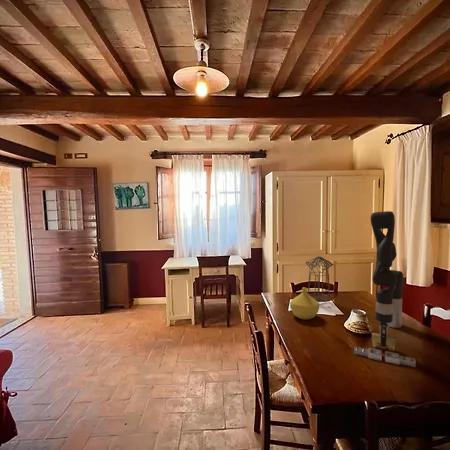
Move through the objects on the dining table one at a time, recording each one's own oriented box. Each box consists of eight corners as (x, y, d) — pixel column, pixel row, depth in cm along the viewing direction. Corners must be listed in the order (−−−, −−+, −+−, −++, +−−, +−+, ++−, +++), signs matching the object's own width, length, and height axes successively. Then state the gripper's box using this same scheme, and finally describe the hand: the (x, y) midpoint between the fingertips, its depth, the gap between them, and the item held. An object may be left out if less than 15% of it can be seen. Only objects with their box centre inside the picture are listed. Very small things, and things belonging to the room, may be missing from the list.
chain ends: (354, 349, 142) (354, 344, 141) (414, 362, 129) (414, 356, 129) (353, 354, 137) (353, 349, 137) (415, 368, 125) (416, 362, 124)
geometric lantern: (303, 300, 218) (304, 255, 216) (321, 298, 223) (321, 254, 221) (316, 307, 203) (316, 258, 201) (334, 304, 208) (335, 257, 206)
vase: (315, 312, 194) (315, 284, 193) (322, 322, 175) (322, 292, 174) (288, 311, 195) (288, 284, 194) (292, 321, 177) (292, 291, 176)
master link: (371, 344, 146) (371, 332, 146) (395, 349, 141) (395, 336, 141) (371, 347, 144) (371, 334, 144) (395, 352, 139) (395, 339, 138)
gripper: (375, 305, 150) (375, 337, 150) (375, 314, 137) (374, 349, 138) (392, 307, 146) (391, 340, 147) (393, 317, 134) (392, 352, 135)
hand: (383, 344), depth 143 cm, fingers closed on master link, 3 cm apart
